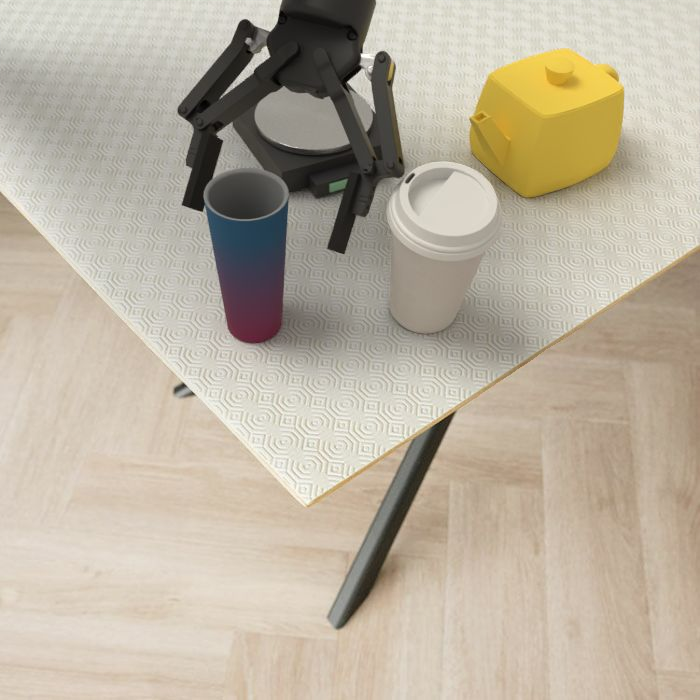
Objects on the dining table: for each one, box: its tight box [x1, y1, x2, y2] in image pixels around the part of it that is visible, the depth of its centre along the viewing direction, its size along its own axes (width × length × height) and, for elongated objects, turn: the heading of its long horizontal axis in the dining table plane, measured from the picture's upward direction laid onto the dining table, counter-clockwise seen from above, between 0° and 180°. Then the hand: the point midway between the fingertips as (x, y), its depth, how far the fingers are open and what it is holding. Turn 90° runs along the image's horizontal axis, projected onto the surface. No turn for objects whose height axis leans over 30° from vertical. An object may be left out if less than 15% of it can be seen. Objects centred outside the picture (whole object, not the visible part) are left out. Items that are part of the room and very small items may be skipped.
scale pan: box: [254, 86, 373, 155], centre depth 100 cm, size 13×13×1 cm
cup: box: [204, 167, 290, 344], centre depth 78 cm, size 7×7×15 cm
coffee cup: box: [385, 160, 503, 335], centre depth 79 cm, size 10×10×15 cm
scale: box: [231, 82, 383, 199], centre depth 101 cm, size 16×14×3 cm
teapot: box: [468, 47, 625, 199], centre depth 98 cm, size 20×12×12 cm, turn 122°
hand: (262, 230), depth 77 cm, fingers open, 13 cm apart
